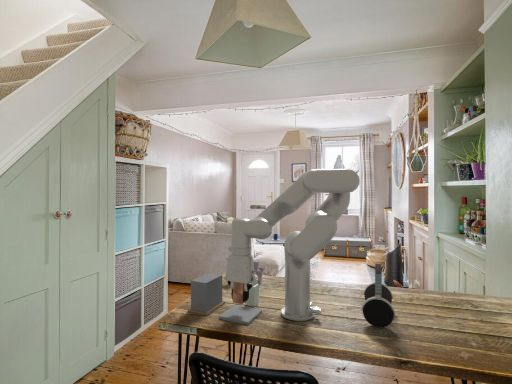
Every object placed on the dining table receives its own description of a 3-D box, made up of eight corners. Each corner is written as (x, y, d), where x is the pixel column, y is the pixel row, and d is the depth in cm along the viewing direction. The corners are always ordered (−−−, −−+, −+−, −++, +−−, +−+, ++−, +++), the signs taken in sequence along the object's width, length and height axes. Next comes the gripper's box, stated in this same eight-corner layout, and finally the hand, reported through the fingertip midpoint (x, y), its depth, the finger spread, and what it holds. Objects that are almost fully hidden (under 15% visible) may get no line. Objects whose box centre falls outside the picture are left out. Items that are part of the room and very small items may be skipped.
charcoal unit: (225, 303, 124) (225, 275, 124) (207, 315, 112) (207, 283, 112) (206, 300, 128) (206, 272, 128) (187, 311, 116) (188, 280, 116)
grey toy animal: (222, 282, 153) (223, 255, 153) (228, 277, 163) (229, 252, 164) (260, 285, 149) (261, 257, 149) (264, 280, 159) (264, 254, 160)
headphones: (361, 326, 103) (361, 269, 103) (363, 305, 122) (363, 257, 122) (395, 332, 99) (395, 272, 99) (392, 309, 118) (392, 259, 118)
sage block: (258, 303, 125) (258, 284, 125) (254, 306, 121) (254, 287, 121) (250, 301, 126) (250, 283, 126) (245, 305, 123) (246, 285, 123)
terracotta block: (247, 300, 113) (247, 279, 113) (242, 304, 110) (242, 282, 110) (237, 299, 115) (238, 278, 115) (232, 302, 111) (233, 281, 111)
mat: (262, 312, 115) (262, 309, 115) (248, 325, 104) (248, 322, 104) (234, 307, 120) (234, 304, 120) (219, 318, 109) (219, 316, 109)
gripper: (216, 250, 112) (215, 299, 112) (257, 255, 105) (256, 307, 105) (226, 247, 119) (225, 293, 119) (265, 251, 112) (264, 300, 112)
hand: (240, 299), depth 112 cm, fingers closed on terracotta block, 4 cm apart
